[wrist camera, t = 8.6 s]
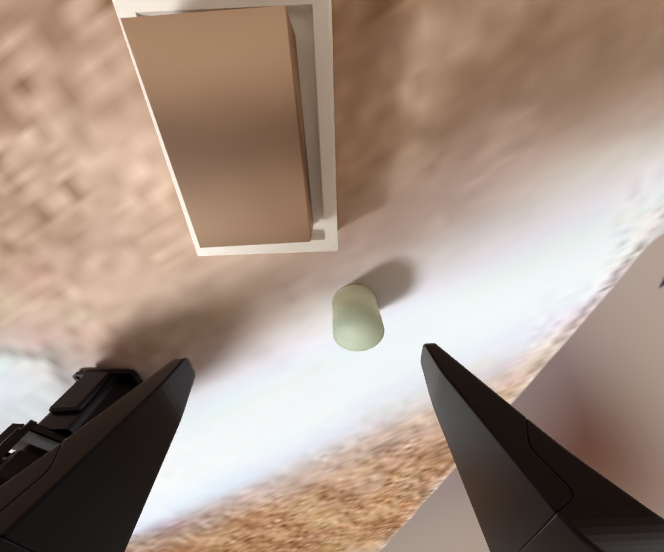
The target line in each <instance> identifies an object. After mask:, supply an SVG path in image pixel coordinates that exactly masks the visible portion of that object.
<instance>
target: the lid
mask: <svg viewBox="0 0 664 552" xmlns="http://www.w3.org/2000/svg"><path fill="white" fill-rule="evenodd" d="M120 19H121V22H122V25H123V28H124V30H125V33H126V36H127V39H128V42H129V45H130V48H131V51H132V53H133V56H134V59H135V62H136V65H137V68H138V71H139V74H140V76H141V79H142V82H143V85H144V88H145V91H146V94H147V97H148V99H149V102H150V105H151V108H152V111H153V114H154V117H155V120H156V122H157V125H158V128H159V131H160V134H161V137H162V140H163V143H164V145H165V148H166V151H167V154H168V157H169V160H170V163H171V166H172V168H173V171H174V174H175V177H176V180H177V183H178V186H179V189H180V191H181V194H182V197H183V200H184V203H185V206H186V209H187V212H188V214H189V217H190V220H191V223H192V226H193V229H194V232H195V234H196V237H197V240H198V243H199V246H200V248H207V247H225V246H243V245H261V244H279V243H297V242H310V241H311V235H312V230H313V225H314V224H313V213H312V203H311V193H310V182H309V172H308V161H307V151H306V141H305V130H304V120H303V110H302V99H301V89H300V79H299V68H298V58H297V48H296V37H295V33H294V30H293V27H292V24H291V21H290V18H289V16H288V13H287V10H286V7H285V5H283V6H270V7H258V8H245V9H232V10H219V11H206V12H193V13H180V14H167V15H154V16H141V17H128V18H120Z"/></svg>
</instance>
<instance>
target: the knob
mask: <svg viewBox="0 0 664 552" xmlns="http://www.w3.org/2000/svg"><path fill="white" fill-rule="evenodd" d="M383 335H384V326H383V322H382V319H381V315H380V312H379V308H378V305H377V301H376V297H375V295H374V293H373V292H372V291H371V290H370V289H369V288H368V287H366V286H363V285H358V284H352V285H348V286H345V287H343V288H341V289H340V290H338V291H337V293H336V294H335V296H334V298H333V337H334V339H335V341H336V343H337V344H338V345H339V346H341V347H342V348H344V349H347V350H350V351H364V350H368V349H370V348H372V347H374V346H376V345H377V344H378V343H379V342H380V341H381V340H382V338H383Z"/></svg>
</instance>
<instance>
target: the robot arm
mask: <svg viewBox="0 0 664 552" xmlns="http://www.w3.org/2000/svg"><path fill="white" fill-rule="evenodd" d="M421 365H422V369H423V373H424V376H425V380H426V384H427V387H428V391H429V394H430V398H431V401H432V405H433V408H434V410H435V413H436V416H437V418H438V421H439V423H440V426H441V428H442V431H443V433H444V436H445V438H446V441H447V443H448V446H449V448H450V451H451V453H452V456H453V459H454V461H455V464H456V466H457V469H458V471H459V474H460V476H461V479H462V481H463V483H464V486H465V489H466V491H467V494H468V496H469V499H470V501H471V504H472V507H473V509H474V511H475V514H476V517H477V519H478V521H479V524H480V527H481V529H482V532H483V534H484V537H485V539H486V542H487V544H488V547H489V550H490V552H664V519H663V518H662V517H660V516H658V515H657V514H655V513H654V512H652V511H651V510H650V509H648V508H647V507H645V506H644V505H642V504H641V503H640V502H638V501H637V500H635V499H634V498H633V497H631V496H630V495H629V494H627V493H626V492H624V491H623V490H622V489H620V488H619V487H618V486H616V485H615V484H613V483H612V482H611V481H609V480H608V479H606V478H605V477H603V476H602V475H601V474H599V473H598V472H597V471H595V470H594V469H592V468H591V467H590V466H588V465H587V464H585V463H584V462H583V461H581V460H580V459H579V458H577V457H576V456H575V455H573V454H572V453H571V452H569V451H568V450H567V449H565V448H564V447H563V446H561V445H560V444H558V443H557V442H556V441H555V440H554V439H552V438H551V437H550V436H548V435H547V434H546V433H545V432H543V431H542V430H541V429H540V428H538V427H537V426H536V425H535V424H534V423H532V422H531V421H530V420H529V419H526V417H525V416H524V415H522V414H521V413H520V412H519V411H517V410H516V409H515V408H514V407H513V406H511V405H510V404H509V403H508V402H506V401H505V400H504V399H503V398H502V397H500V396H499V395H498V394H497V393H495V392H494V391H493V390H492V389H491V388H489V387H488V386H487V385H486V384H484V383H483V382H482V381H481V380H479V379H478V378H477V377H476V376H475V375H473V374H472V373H471V372H470V371H468V370H467V369H466V368H465V367H464V366H462V365H461V364H460V363H459V362H457V361H456V360H455V359H454V358H453V357H451V356H450V355H449V354H448V353H446V352H445V351H444V350H443V349H442V348H440V347H439V346H438V345H437V344H435V343H428V344H424V345H423V348H422V355H421ZM73 378H74V379H75V380H76V383H75V384H74V385H73V386H72V387H71V388H70V389H69V390H68V391H67V392H66V393H64V394H63V395H62V396H61V397H60V398H59V399H58V400H57V401H56V402H55V403H54V404H53V405H52V406H51V407H50V409H49V411H50V413H49V414H48V415H47V416H46V417H45V418H44V419H43V420H42V421H41V422H40V423H39V424H37V422H35V421H33V420H30V421H29V422H27V423H26V424H25V425H24V424H12V425H10V426H9V427H8V428H7V429H6V430H5V431H4V432H3V433H1V434H0V552H125V549H126V547H127V545H128V542H129V540H130V538H131V535H132V533H133V531H134V528H135V526H136V524H137V521H138V519H139V517H140V514H141V512H142V510H143V507H144V505H145V503H146V500H147V498H148V496H149V493H150V491H151V489H152V486H153V484H154V482H155V479H156V477H157V475H158V473H159V470H160V468H161V466H162V463H163V461H164V459H165V456H166V454H167V452H168V449H169V447H170V445H171V442H172V440H173V438H174V435H175V433H176V431H177V428H178V426H179V423H180V421H181V418H182V416H183V413H184V410H185V407H186V403H187V400H188V397H189V394H190V391H191V388H192V385H193V382H194V378H195V372H194V370H193V368H192V366H191V364H190V362H189V360H188V359H187V358H176V359H174V360H172V361H171V362H170V363H168V364H167V365H166V366H164V367H163V368H161V369H160V370H159V371H157V372H156V373H155V374H153V375H152V376H151V377H149V378H148V379H147V380H145V381H144V382H143V383H142V382H141V381H140V379H139V378H138V376H137V374H136V373H135V372H134V371H132V370H115V371H82V372H76V373H75V374H74V375H73ZM11 449H13V450H15V452H13V453H9V451H10V450H11Z"/></svg>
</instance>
